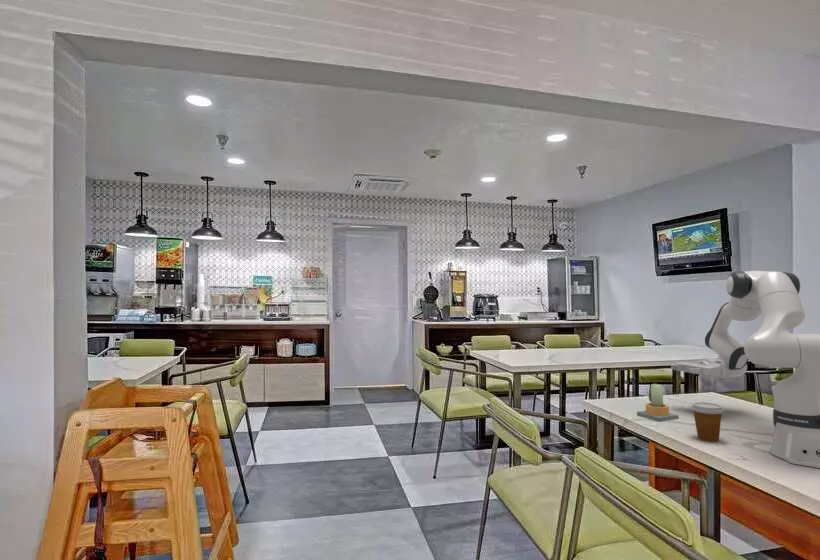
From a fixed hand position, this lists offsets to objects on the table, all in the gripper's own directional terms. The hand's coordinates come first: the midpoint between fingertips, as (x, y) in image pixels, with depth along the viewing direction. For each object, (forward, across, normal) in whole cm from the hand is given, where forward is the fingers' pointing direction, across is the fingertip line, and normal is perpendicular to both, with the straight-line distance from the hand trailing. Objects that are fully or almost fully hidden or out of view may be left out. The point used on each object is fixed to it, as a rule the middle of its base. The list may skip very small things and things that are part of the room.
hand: (680, 369), depth 193 cm
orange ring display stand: (+12, -1, +20) cm, 23 cm away
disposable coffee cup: (+15, +29, +21) cm, 39 cm away
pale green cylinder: (+12, -1, +18) cm, 22 cm away
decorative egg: (-3, -20, +20) cm, 28 cm away
